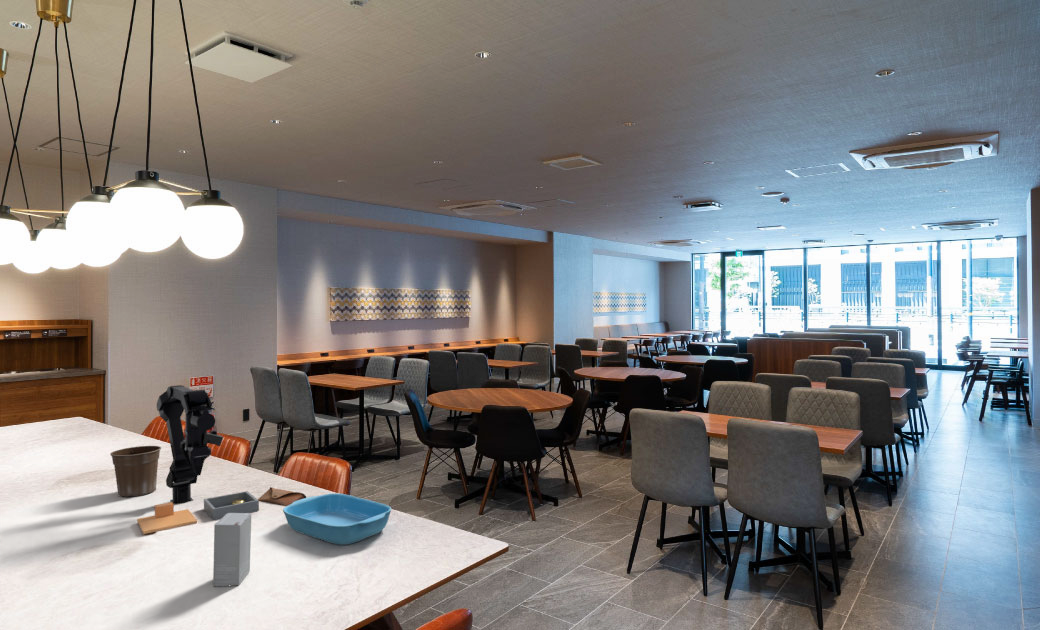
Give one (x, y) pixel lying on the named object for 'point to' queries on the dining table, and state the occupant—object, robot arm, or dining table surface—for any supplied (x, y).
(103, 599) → the dining table surface
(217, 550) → the skincare box
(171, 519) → the lid
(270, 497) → the sunglasses case
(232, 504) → the part
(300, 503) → the casserole dish
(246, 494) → the tub
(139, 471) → the plant pot
